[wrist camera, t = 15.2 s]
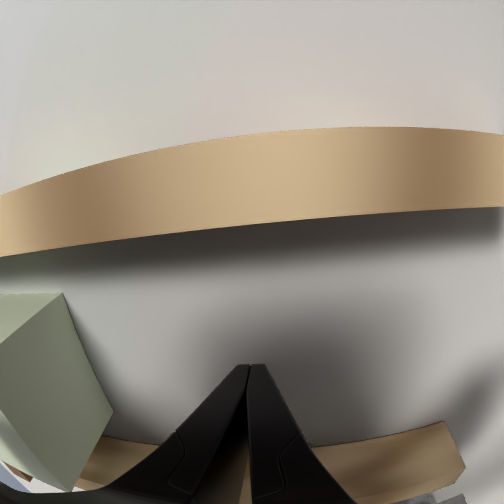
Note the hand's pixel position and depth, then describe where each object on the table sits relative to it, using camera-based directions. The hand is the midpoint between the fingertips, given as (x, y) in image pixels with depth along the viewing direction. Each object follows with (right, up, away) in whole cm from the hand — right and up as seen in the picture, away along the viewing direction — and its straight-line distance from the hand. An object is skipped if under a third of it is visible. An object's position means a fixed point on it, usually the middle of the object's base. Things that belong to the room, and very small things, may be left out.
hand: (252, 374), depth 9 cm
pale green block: (-10, -1, +2) cm, 10 cm away
